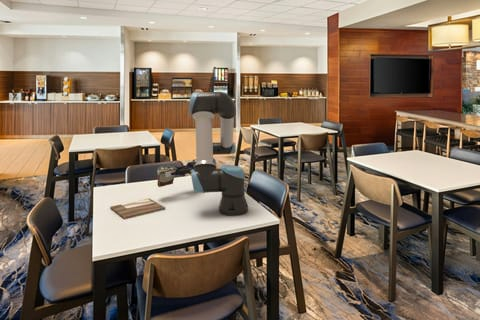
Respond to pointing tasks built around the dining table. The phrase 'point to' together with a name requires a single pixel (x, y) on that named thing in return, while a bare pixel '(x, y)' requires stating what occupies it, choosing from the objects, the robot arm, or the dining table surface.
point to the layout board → (137, 208)
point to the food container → (161, 175)
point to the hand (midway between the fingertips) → (163, 174)
